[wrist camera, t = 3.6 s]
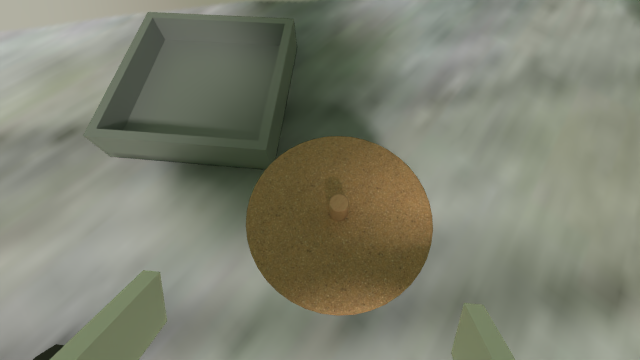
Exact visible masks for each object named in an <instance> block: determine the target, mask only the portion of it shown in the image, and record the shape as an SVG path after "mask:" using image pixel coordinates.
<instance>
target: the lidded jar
mask: <svg viewBox="0 0 640 360" xmlns="http://www.w3.org/2000/svg"><path fill="white" fill-rule="evenodd" d="M246 231H247V240H248V244H249V247H250V251H251V254H252V257H253V259H254V261H255V263H256V265H257V267H258V269H259V270H260V272H261V273H262V275H263V276H264V278H265V279H266V280H267V281H268V282H269V283H270V284H271V286H272V287H273V288H274V289H275V290H276V291H277V292H279V293H280V294H281V295H283V296H284V297H286V298H287V299H288V300H290V301H291V302H293V303H295V304H297V305H299V306H301V307H303V308H305V309H308V310H311V311H315V312H318V313H322V314H330V315H354V314H358V313H363V312H367V311H371V310H373V309H375V308H378V307H380V306H383V305H385V304H387V303H388V302H390V301H391V300H393V299H394V298H396V297H397V296H399V295H400V294H401V293H402V292H403V291H404V290H405V289H407V288H408V287H409V286H410V285H411V284H412V282H413V281H414V280H415V278H416V277H417V276H418V274H419V273H420V271H421V269H422V267H423V265H424V263H425V261H426V259H427V256H428V253H429V250H430V246H431V241H432V232H433V224H432V213H431V208H430V204H429V200H428V198H427V195H426V193H425V190H424V188H423V186H422V185H421V183H420V181H419V180H418V178H417V176H416V175H415V174H414V173H413V171H412V170H411V169H410V168H409V167H408V166H407V165H406V164H405V163H404V162H403V161H402V160H401V159H400V158H399V157H397V156H396V155H394V154H393V153H392V152H390V151H389V150H387V149H385V148H383V147H381V146H379V145H377V144H375V143H372V142H369V141H366V140H363V139H358V138H354V137H344V136H331V137H322V138H317V139H313V140H310V141H307V142H304V143H301V144H299V145H297V146H295V147H293V148H291V149H289V150H288V151H286V152H285V153H283V154H282V155H280V156H279V157H278V158H277V159H276V160H274V161H273V162H272V163H271V164H270V165H269V166H268V168H267V169H266V170H265V171H264V172H263V174H262V175H261V177H260V178H259V180H258V182H257V183H256V185H255V187H254V189H253V192H252V194H251V197H250V200H249V204H248V209H247V217H246Z"/></svg>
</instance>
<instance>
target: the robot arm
mask: <svg viewBox="0 0 640 360" xmlns="http://www.w3.org/2000/svg"><path fill="white" fill-rule="evenodd" d="M166 322H167V317H166V310H165V303H164V296H163V290H162V283H161V276H160V272H154V271H145V270H143V271H142V272H141V273H140V274H139V275H138V276H137V277H136V278H135V279H134V280H133V281H132V282H131V283H130V284H129V285H128V286H126V287H125V288H124V289H123V290H122V291H121V292H120V293H119V294H118V295H117V296H116V297H115V298H114V299H113V300H112V301H111V302H110V303H109V304H108V305H106V306H105V307H104V308H103V309H102V310H101V311H100V312H99V313H98V314H97V315H96V316H95V317H94V318H93V319H92V320H91V321H90V322H89V323H88V324H87V325H85V326H84V327H83V328H82V329H81V330H80V331H79V332H78V333H77V334H76V335H75V336H74V337H73V338H72V339H71V340H70V341H69V342H68V343H67V344H66V345H57V344H56V345H54V346H53V347H51V348H49V349H48V350H46V351H45V352H43V353H41V354H40V355H38V356H37V357H35V358H34V359H33V360H139V359H140V357H141V356H142V355H143V353H144V352H145V350H146V349H147V348H148V346H149V345H150V344H151V342H152V341H153V340H154V338H155V337H156V336H157V334H158V333H159V331H160V330H161V329H162V327H163V326H164V325H165V323H166ZM451 354H452V357H453V360H515V358H514V357H513V355H512V353H511V352H510V350H509V348H508V347H507V345H506V343H505V341H504V340H503V338H502V336H501V335H500V333H499V331H498V329H497V328H496V326H495V324H494V323H493V321H492V319H491V317H490V316H489V314H488V312H487V311H486V309H485V307H484V306H483V305H479V304H469V303H464V305H463V309H462V313H461V317H460V321H459V325H458V329H457V332H456V336H455V340H454V344H453V348H452V352H451Z"/></svg>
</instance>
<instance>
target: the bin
mask: <svg viewBox="0 0 640 360" xmlns="http://www.w3.org/2000/svg"><path fill="white" fill-rule="evenodd" d="M296 50H297V42H296V33H295V25H294V19H288V18H266V17H244V16H222V15H200V14H179V13H157V12H148V13H147V15H146V17H145V19H144V20H143V22H142V24H141V26H140V28H139V30H138V32H137V34H136V36H135V38H134V39H133V41H132V43H131V45H130V47H129V49H128V51H127V53H126V55H125V57H124V59H123V60H122V62H121V64H120V66H119V68H118V70H117V72H116V74H115V76H114V78H113V80H112V81H111V83H110V85H109V87H108V89H107V91H106V93H105V95H104V97H103V99H102V101H101V102H100V104H99V106H98V108H97V110H96V112H95V114H94V116H93V118H92V120H91V122H90V123H89V125H88V127H87V129H86V131H85V133H84V135H83V136H84V137H85V138H87V139H88V140H89V141H91V142H92V143H93V144H95V145H96V146H97V147H98V148H100V149H101V150H102V151H104V152H105V153H106V154H108V155H109V156H110V157H121V158H133V159H145V160H157V161H169V162H182V163H194V164H206V165H218V166H230V167H242V168H254V169H267V168H268V166H269V165H270V164H271V163H272V162H273V161H274V160H275V159H276V153H277V148H278V143H279V138H280V133H281V128H282V123H283V117H284V112H285V107H286V102H287V97H288V92H289V87H290V81H291V76H292V71H293V66H294V61H295V56H296Z"/></svg>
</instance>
